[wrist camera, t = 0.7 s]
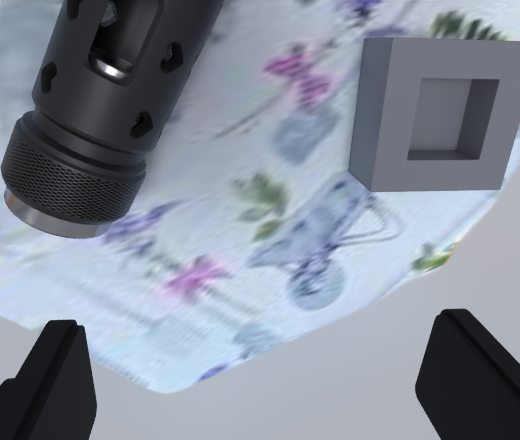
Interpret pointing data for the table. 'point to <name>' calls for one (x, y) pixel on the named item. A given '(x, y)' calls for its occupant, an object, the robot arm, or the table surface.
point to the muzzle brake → (100, 110)
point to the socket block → (435, 114)
